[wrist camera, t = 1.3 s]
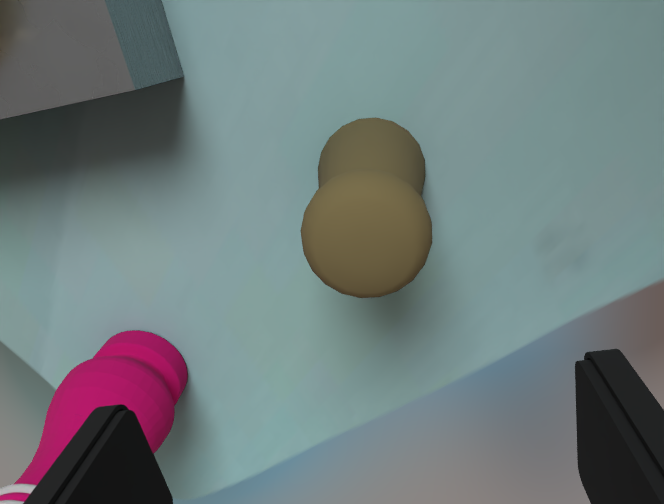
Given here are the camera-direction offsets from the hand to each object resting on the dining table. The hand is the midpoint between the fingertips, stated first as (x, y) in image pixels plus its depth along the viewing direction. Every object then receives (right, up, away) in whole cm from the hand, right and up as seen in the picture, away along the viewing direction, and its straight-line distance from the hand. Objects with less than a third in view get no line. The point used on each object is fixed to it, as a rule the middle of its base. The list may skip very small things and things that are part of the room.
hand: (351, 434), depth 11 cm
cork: (+2, +8, +18) cm, 20 cm away
